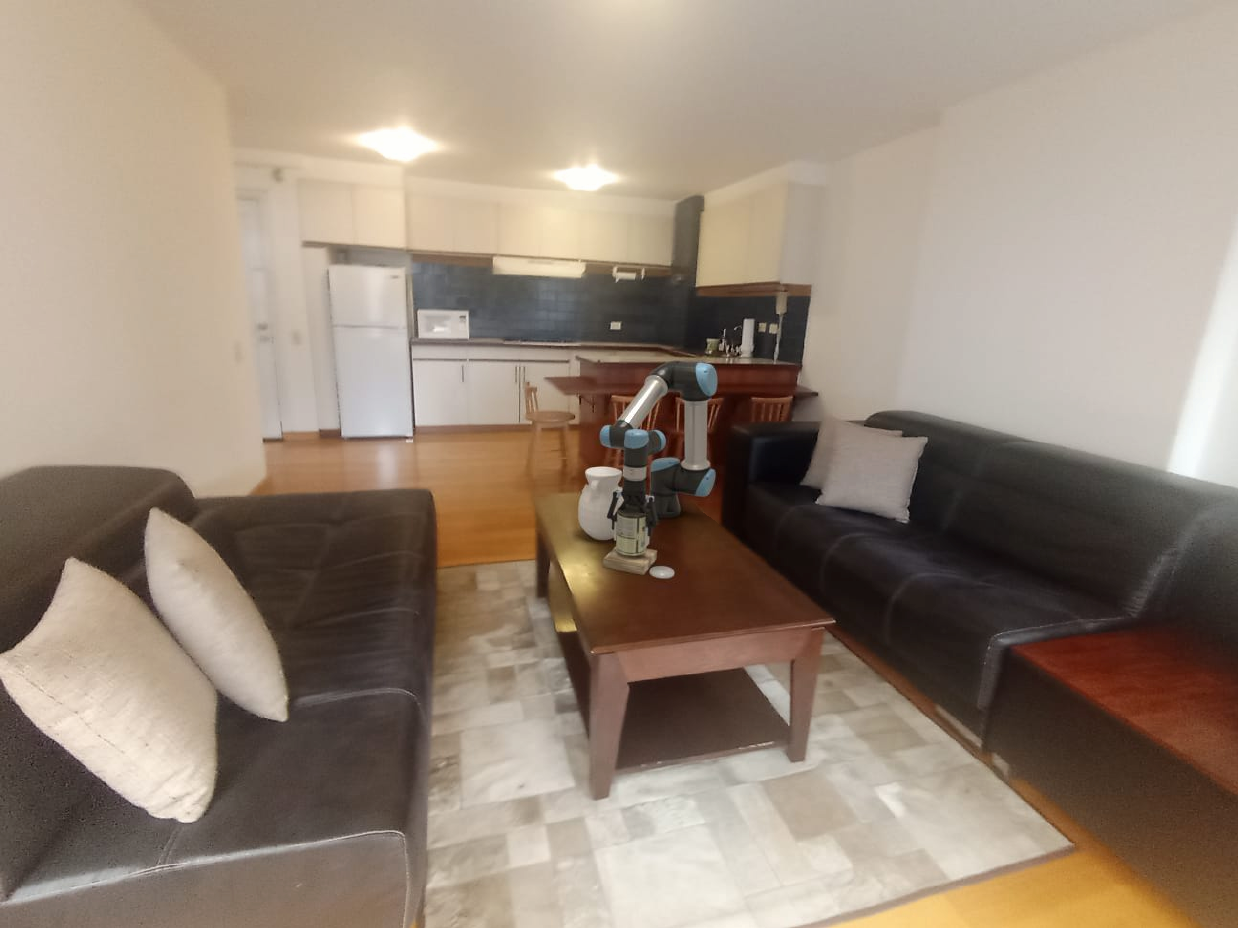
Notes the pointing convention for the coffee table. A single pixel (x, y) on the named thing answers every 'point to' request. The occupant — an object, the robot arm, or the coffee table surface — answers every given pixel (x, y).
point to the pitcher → (599, 501)
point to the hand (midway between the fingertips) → (631, 541)
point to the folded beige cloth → (630, 561)
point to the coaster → (662, 572)
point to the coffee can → (631, 531)
